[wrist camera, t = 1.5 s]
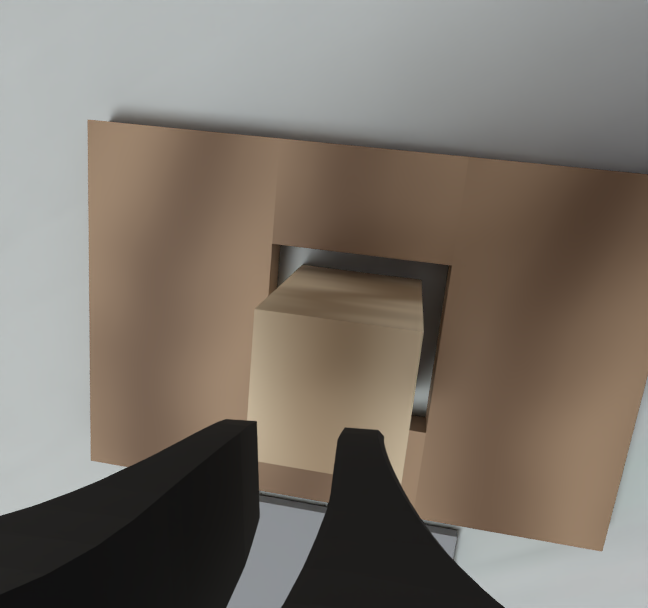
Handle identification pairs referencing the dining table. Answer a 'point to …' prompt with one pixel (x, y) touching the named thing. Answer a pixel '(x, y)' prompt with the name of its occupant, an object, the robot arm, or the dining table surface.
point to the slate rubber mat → (289, 551)
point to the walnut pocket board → (390, 242)
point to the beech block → (334, 364)
